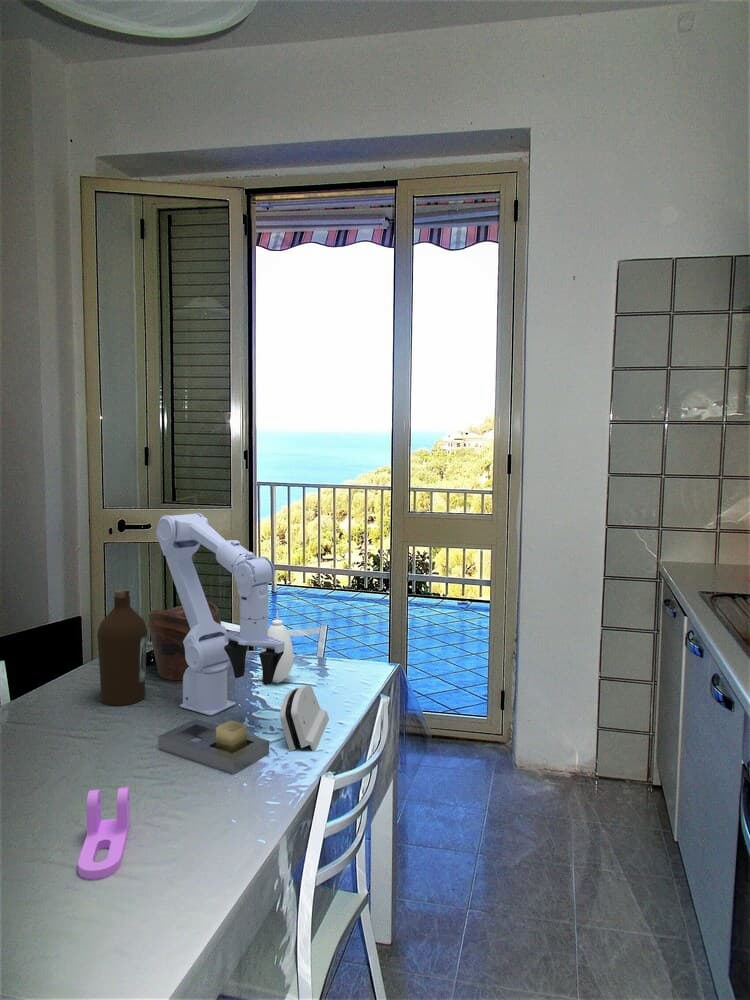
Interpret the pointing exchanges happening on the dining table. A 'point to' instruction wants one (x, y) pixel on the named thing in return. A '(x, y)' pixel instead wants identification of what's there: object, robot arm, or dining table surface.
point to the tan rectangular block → (231, 736)
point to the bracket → (104, 836)
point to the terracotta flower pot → (172, 639)
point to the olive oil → (122, 653)
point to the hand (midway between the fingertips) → (253, 680)
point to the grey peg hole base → (210, 747)
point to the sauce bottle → (286, 660)
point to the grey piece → (302, 718)
